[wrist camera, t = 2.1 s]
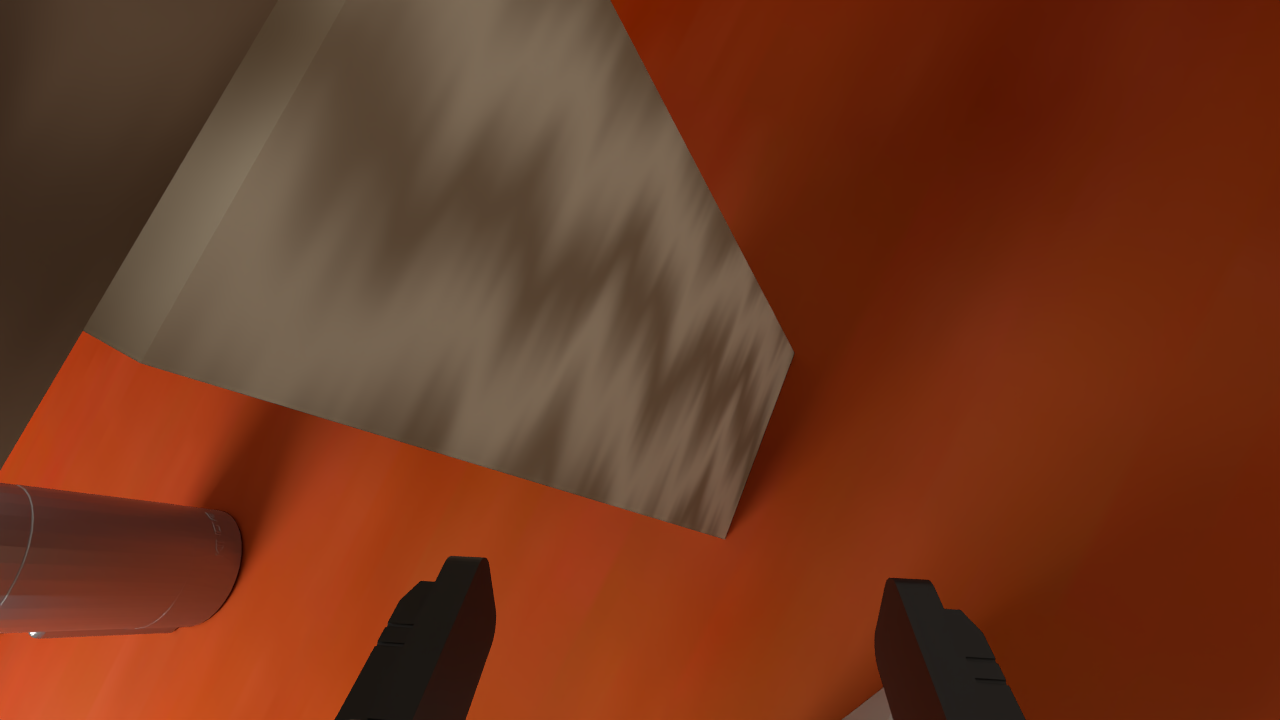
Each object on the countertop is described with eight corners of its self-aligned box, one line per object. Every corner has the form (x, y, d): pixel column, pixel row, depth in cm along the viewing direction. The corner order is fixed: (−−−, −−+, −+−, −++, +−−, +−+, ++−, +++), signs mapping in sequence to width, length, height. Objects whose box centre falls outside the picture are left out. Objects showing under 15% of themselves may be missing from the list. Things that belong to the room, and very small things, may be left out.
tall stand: (724, 539, 37) (140, 362, 9) (612, 490, 41) (-41, 261, 13) (794, 352, 39) (483, -242, 11) (681, 322, 43) (242, -180, 15)
